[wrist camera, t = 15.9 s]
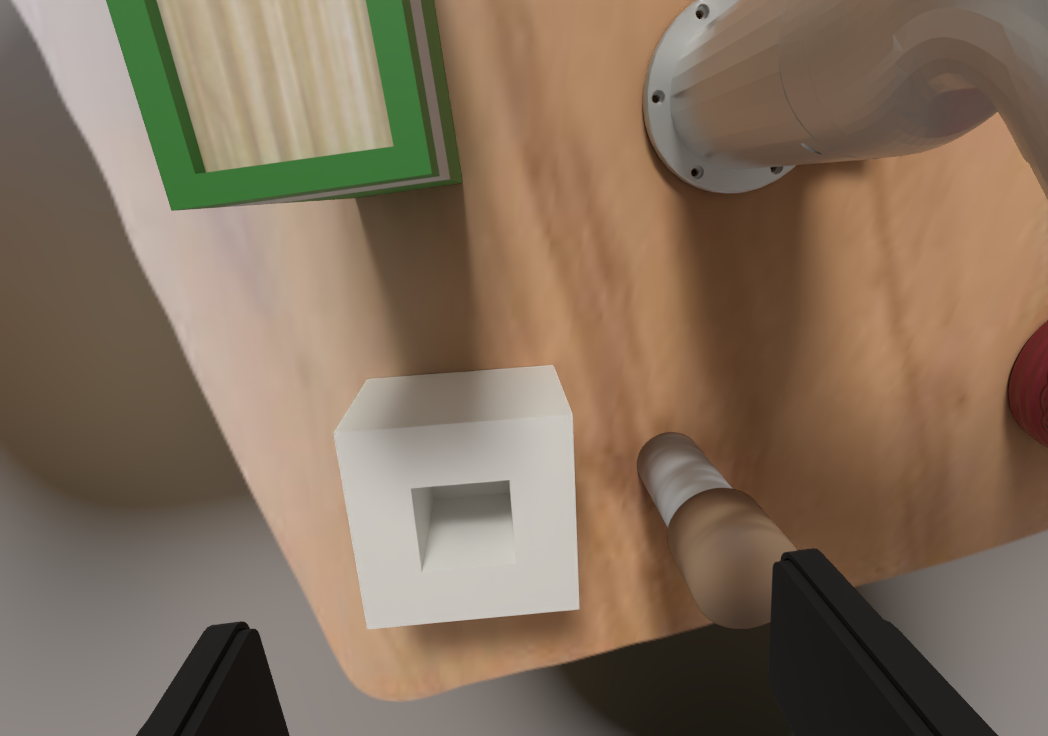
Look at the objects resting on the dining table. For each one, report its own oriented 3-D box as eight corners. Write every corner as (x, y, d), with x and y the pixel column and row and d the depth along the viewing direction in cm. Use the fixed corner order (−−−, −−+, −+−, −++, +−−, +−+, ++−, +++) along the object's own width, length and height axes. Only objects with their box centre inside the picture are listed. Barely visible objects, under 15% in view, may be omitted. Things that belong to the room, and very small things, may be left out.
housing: (553, 364, 43) (572, 414, 34) (560, 525, 48) (579, 609, 38) (367, 378, 43) (333, 433, 33) (390, 540, 47) (367, 629, 38)
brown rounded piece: (708, 422, 46) (810, 528, 31) (705, 493, 48) (800, 623, 33) (629, 428, 45) (695, 538, 31) (629, 499, 47) (691, 633, 33)
